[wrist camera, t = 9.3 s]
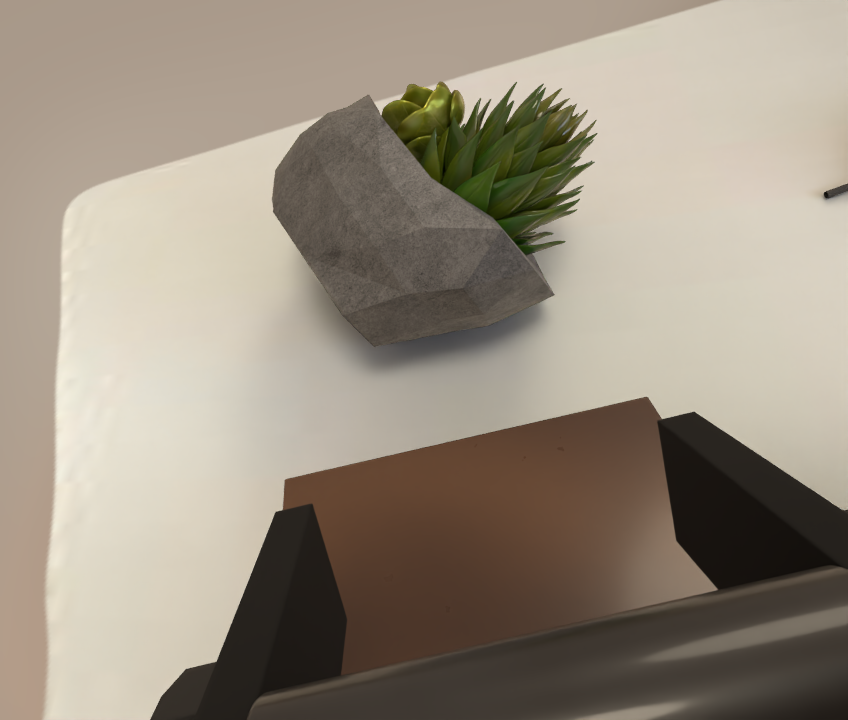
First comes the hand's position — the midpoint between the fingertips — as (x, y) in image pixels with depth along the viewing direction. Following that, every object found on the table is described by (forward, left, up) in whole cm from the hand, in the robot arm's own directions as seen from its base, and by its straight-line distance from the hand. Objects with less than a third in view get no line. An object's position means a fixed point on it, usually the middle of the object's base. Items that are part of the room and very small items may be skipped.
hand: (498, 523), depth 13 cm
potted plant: (-5, -18, -16) cm, 25 cm away
